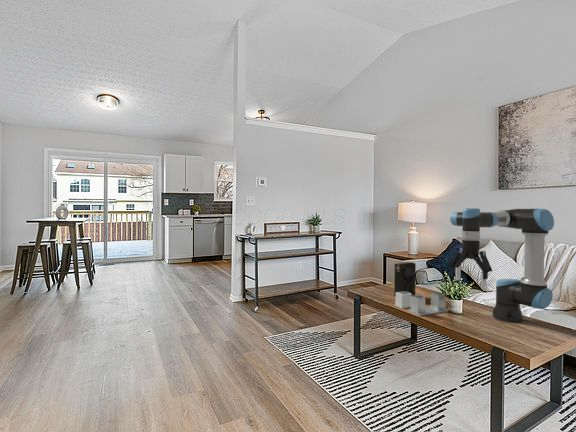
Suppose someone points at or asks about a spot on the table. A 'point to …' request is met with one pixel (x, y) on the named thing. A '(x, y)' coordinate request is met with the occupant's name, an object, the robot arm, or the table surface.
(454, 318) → the table surface
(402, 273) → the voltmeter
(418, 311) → the grey stepped block
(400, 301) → the module
